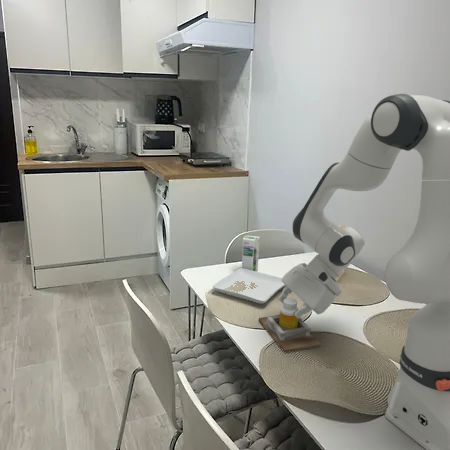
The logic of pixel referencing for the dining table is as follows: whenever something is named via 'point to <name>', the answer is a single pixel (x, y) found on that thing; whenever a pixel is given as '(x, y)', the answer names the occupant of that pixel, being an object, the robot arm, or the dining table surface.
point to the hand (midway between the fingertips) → (287, 308)
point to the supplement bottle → (288, 314)
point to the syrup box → (250, 253)
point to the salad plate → (259, 294)
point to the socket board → (289, 334)
